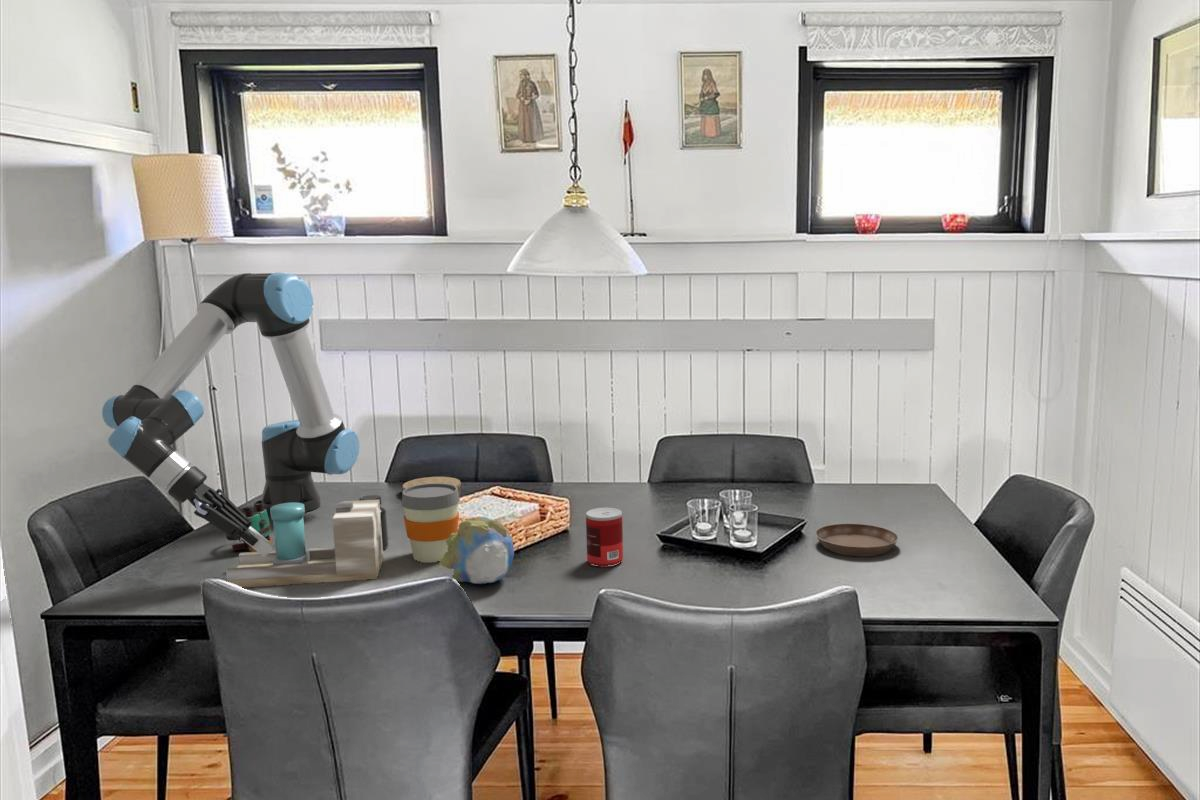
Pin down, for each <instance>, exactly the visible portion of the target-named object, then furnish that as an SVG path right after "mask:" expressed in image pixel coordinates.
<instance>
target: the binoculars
mask: <svg viewBox="0 0 1200 800" xmlns="http://www.w3.org/2000/svg"><path fill="white" fill-rule="evenodd" d="M253 505H254V507H243V508H242V510H243V513H244V514H245V515H246V516H247V517H248V518H249V519H250V521H252V522H253V523H252V524H251V525H250V526H251V527H252V528H254V529H255V530H256V531H257V532H258V533H260V534H261V535H262V536H263V537H264V538H266V539H267V540H268V541H269V542H271V543H272V544H273V539H272V538H271V537H270V535H271V534H272V525H271V524H270V519H269V514H267V511H266V509H263V505H264V502H263V500H261V499H260V500H257V501H255V502H254V503H253ZM254 508H255V511H254ZM225 537H226V540H227V541H235V540H234V539H235V538H232V537H231V536H229V535H228V534H226V533H225ZM237 541H239V543H236V544H231V547H232V548H231V549H232V551H239V550H244V549H245V550H247V549H248V551H249V552H257V551H256V550H255V549H253V548H252V547H251V546H250V545H249V544H247V543H246V542H245V541H244V540H242V539H241V538H239V539H238V540H237ZM273 545H274V544H273Z"/></svg>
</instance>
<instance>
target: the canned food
mask: <svg viewBox="0 0 1200 800" xmlns="http://www.w3.org/2000/svg"><path fill="white" fill-rule="evenodd" d="M585 513H586V514H585V530H586V536H585V537H586V560H587V562H589V563H590V564H594V565H598V566H608V565H614V564H617V563H619V562H621V561H623V559H624V544H623V543H624V537H623V536H624V535H623V531H624V530H623V528H624V527H623V512H622V510H621V509H618V508H615V507H597V508H592V509H590V510H588V511H587V512H585ZM589 563H588V564H589ZM621 563H622V562H621ZM590 564H589V565H590Z"/></svg>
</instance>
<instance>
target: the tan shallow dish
mask: <svg viewBox="0 0 1200 800" xmlns="http://www.w3.org/2000/svg"><path fill="white" fill-rule="evenodd" d="M431 483H443V484H451V485H454V486H456V487H457V488H458V493H459V495H460V494H461V493H462V482H461V480H460V479H458V478H456V477H450V476H430V477H429V476H428V477H420V478H415V479H411V480H408V481H406V482H404V483H403V484H402V491H403V490H405V489H406V488H409V487H412V486H416V485H421V484H431Z"/></svg>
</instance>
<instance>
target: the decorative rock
mask: <svg viewBox="0 0 1200 800" xmlns="http://www.w3.org/2000/svg"><path fill="white" fill-rule="evenodd" d="M446 543H447V545H448V546H449V547H448V552H445V554H444V557H442V558H440V562H439V564H440V565H441V566H442V567H444V568H447V569H450V570H452V569H453V575H452V576H451V579H452V578H454V579H456V580H457V581H459V582H458V583H465V582H466V583H470V584H475V585H476V584H477V585H486V584H487V583H489V584H492V583H496V582H497V581H499V580H501V579H502V578H504V576H505V575H506V573H508V572H509V568H511V565H512V563H513V561H514V555H515V547H514V542H513V539H512V537H511V534H510V533H509V530H508V529H507V528H506V527H505V525H504V524H503V523H501V522H500V521H499V520H496V519H492V518H488V517H487V516H472V517H471V518H468V519H466V520H463V521H461V522H460V523H458V530H457V532H456V533H452V534H451V535H450V537H449V538H448V539H447V540H446ZM487 585H488V584H487Z"/></svg>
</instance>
